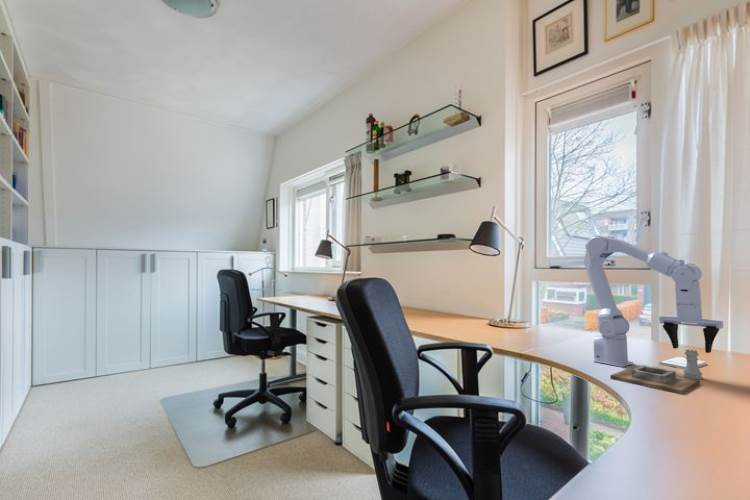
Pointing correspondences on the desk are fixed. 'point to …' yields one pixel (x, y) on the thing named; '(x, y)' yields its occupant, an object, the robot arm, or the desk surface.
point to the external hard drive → (679, 363)
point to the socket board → (656, 379)
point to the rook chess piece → (692, 366)
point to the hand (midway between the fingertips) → (691, 350)
